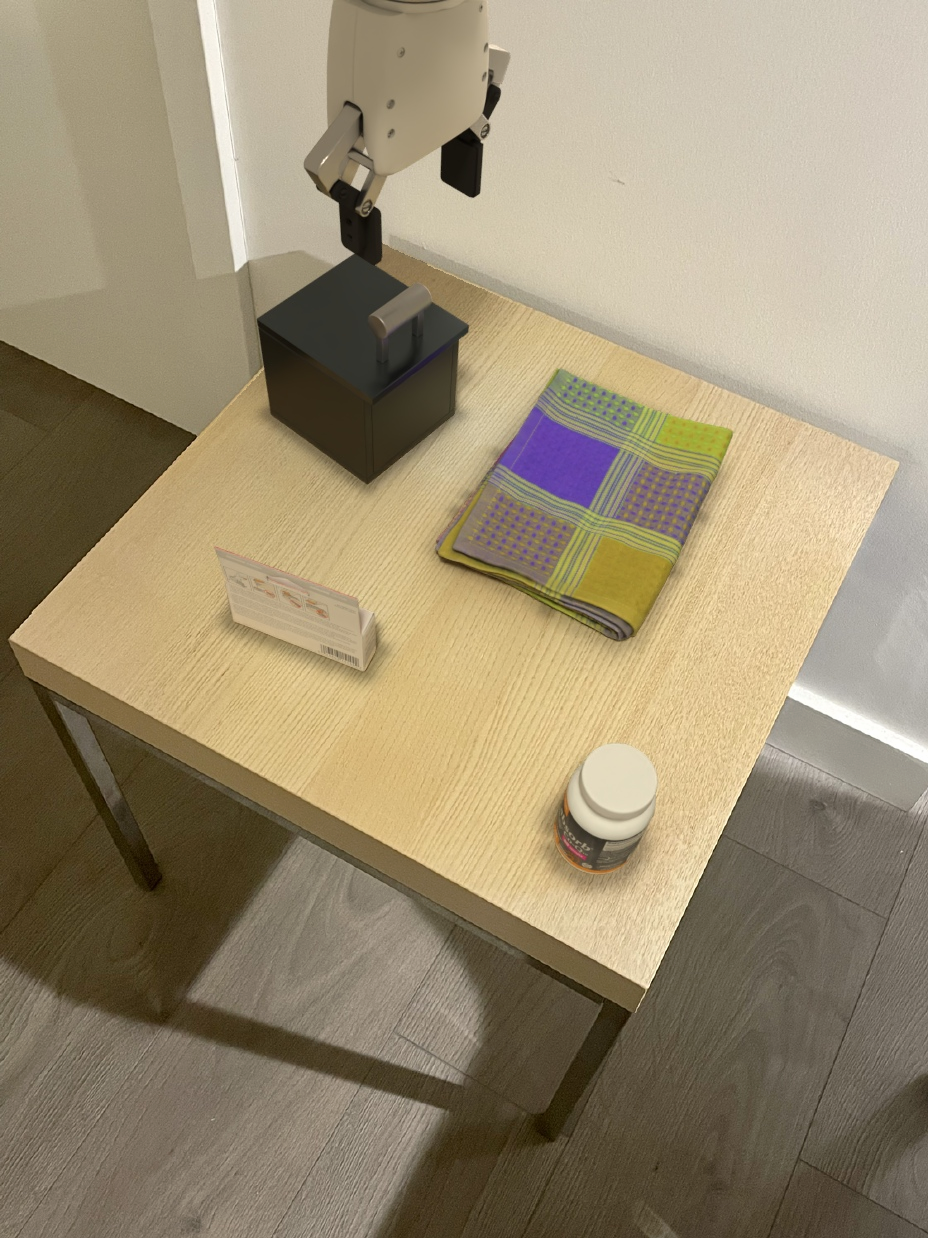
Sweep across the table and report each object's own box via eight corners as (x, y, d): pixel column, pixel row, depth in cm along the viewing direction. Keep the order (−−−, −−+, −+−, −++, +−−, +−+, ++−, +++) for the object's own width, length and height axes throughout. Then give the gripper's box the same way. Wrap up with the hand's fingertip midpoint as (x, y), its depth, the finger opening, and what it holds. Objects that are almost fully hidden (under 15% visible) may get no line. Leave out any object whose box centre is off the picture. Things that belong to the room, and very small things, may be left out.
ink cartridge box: (246, 599, 82) (229, 519, 74) (378, 649, 81) (375, 573, 72) (230, 624, 81) (211, 546, 73) (364, 675, 79) (359, 601, 71)
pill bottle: (537, 819, 74) (554, 756, 65) (608, 785, 75) (633, 720, 67) (579, 892, 71) (603, 836, 63) (652, 855, 73) (684, 796, 64)
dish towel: (738, 450, 93) (747, 428, 91) (625, 658, 81) (631, 639, 79) (558, 375, 97) (561, 352, 95) (424, 563, 85) (425, 542, 83)
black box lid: (468, 332, 85) (472, 278, 81) (372, 406, 81) (370, 353, 76) (355, 260, 90) (353, 205, 85) (257, 326, 85) (249, 271, 80)
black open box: (455, 413, 94) (460, 327, 86) (367, 484, 89) (363, 400, 81) (359, 349, 98) (355, 260, 90) (270, 414, 93) (257, 326, 85)
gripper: (466, -126, 63) (455, 141, 77) (246, -19, 55) (279, 254, 70) (566, -80, 60) (536, 187, 75) (350, 38, 53) (362, 309, 67)
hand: (412, 219), depth 72 cm, fingers open, 9 cm apart
